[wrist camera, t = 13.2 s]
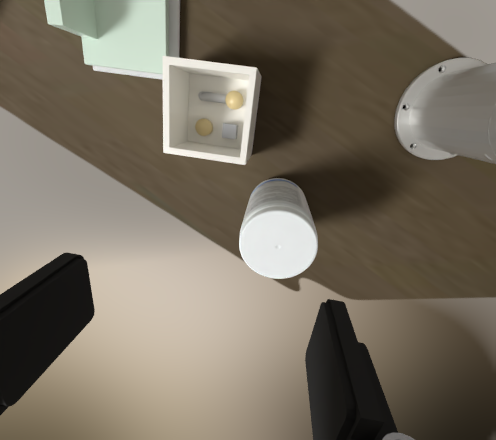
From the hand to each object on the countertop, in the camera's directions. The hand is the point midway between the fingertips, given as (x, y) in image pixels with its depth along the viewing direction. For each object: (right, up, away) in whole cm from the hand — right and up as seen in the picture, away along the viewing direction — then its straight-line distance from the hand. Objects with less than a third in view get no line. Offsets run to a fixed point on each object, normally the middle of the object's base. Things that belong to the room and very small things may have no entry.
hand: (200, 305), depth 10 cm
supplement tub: (+7, +6, +33) cm, 34 cm away
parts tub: (-2, +20, +28) cm, 35 cm away
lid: (-14, +30, +24) cm, 41 cm away
